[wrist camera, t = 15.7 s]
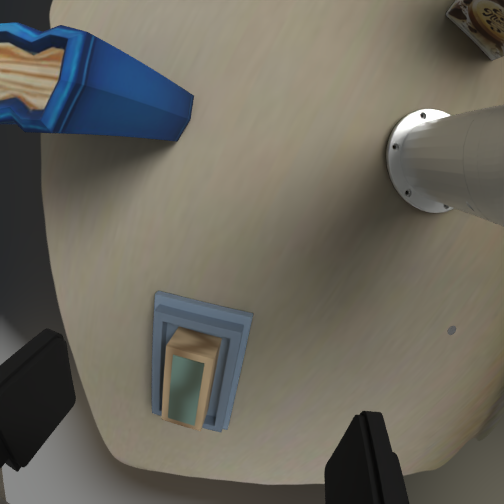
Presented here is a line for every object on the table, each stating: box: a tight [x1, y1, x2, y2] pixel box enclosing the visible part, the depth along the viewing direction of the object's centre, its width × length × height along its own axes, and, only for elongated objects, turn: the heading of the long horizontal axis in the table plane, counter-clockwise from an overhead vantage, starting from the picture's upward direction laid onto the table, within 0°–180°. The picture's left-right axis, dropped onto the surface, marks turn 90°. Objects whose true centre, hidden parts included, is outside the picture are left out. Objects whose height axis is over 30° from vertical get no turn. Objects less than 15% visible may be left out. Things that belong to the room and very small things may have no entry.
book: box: [0, 23, 194, 141], centre depth 23 cm, size 22×7×25 cm, turn 69°
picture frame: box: [162, 327, 222, 431], centre depth 41 cm, size 6×14×5 cm, turn 168°
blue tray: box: [152, 291, 253, 432], centre depth 43 cm, size 13×22×3 cm, turn 169°
